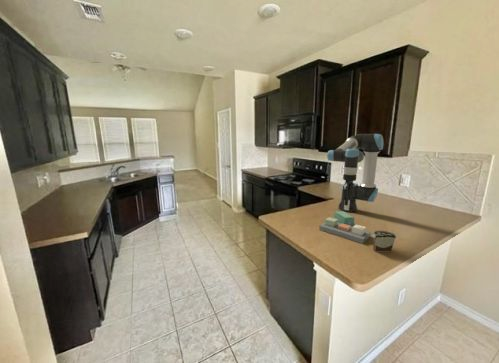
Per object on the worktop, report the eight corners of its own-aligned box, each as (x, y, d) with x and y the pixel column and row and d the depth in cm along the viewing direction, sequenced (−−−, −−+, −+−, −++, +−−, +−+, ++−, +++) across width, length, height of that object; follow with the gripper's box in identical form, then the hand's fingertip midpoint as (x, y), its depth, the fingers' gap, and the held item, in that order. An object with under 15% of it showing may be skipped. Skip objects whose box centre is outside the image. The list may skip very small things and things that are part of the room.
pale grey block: (355, 230, 143) (356, 224, 142) (365, 233, 139) (366, 227, 138) (351, 232, 139) (352, 227, 138) (361, 235, 135) (362, 229, 134)
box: (344, 227, 154) (345, 217, 153) (333, 220, 167) (334, 211, 166) (353, 227, 156) (354, 217, 154) (342, 220, 169) (343, 210, 167)
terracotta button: (341, 228, 150) (341, 223, 149) (350, 231, 146) (351, 225, 145) (337, 231, 145) (338, 225, 145) (346, 234, 141) (347, 228, 141)
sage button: (328, 222, 155) (329, 217, 155) (337, 224, 151) (337, 219, 150) (325, 224, 151) (325, 219, 150) (333, 227, 147) (333, 221, 146)
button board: (328, 223, 160) (328, 220, 160) (370, 236, 141) (370, 232, 140) (319, 229, 150) (319, 225, 150) (362, 243, 131) (363, 239, 131)
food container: (386, 246, 129) (389, 230, 127) (394, 251, 123) (396, 234, 121) (366, 246, 129) (368, 230, 126) (372, 251, 123) (374, 235, 120)
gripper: (348, 171, 145) (344, 206, 150) (339, 174, 135) (336, 210, 140) (360, 173, 139) (356, 208, 144) (352, 175, 130) (348, 213, 135)
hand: (346, 209), depth 142 cm, fingers closed
